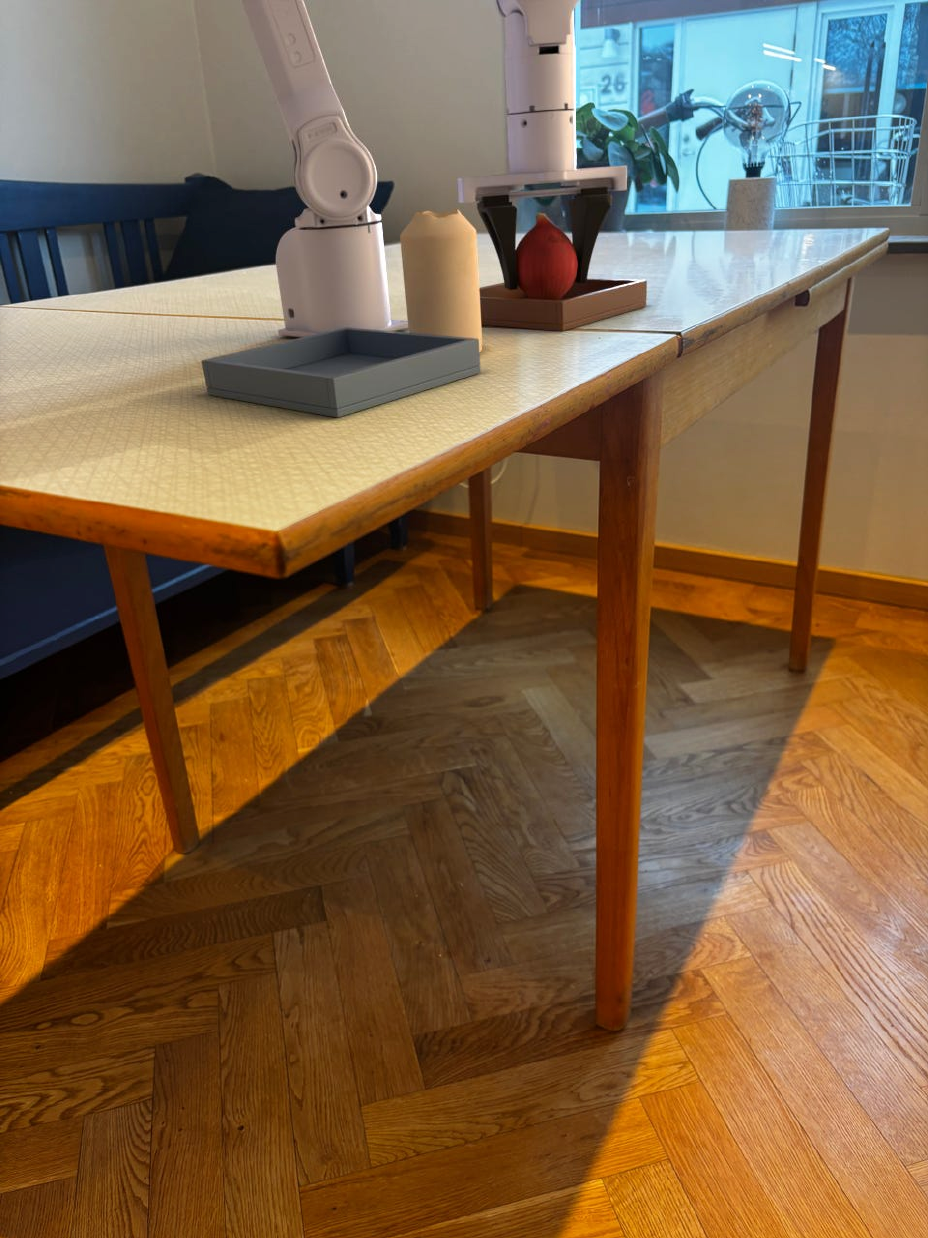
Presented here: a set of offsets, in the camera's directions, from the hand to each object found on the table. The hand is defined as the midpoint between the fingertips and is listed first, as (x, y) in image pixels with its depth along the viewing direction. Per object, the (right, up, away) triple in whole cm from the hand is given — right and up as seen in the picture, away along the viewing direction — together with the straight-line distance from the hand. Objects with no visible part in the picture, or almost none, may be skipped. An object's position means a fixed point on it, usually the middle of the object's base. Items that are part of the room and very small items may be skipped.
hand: (545, 285), depth 82 cm
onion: (0, -2, +1) cm, 2 cm away
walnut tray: (0, -2, +1) cm, 2 cm away
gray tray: (-15, -14, -20) cm, 29 cm away
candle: (-9, -10, -12) cm, 18 cm away
